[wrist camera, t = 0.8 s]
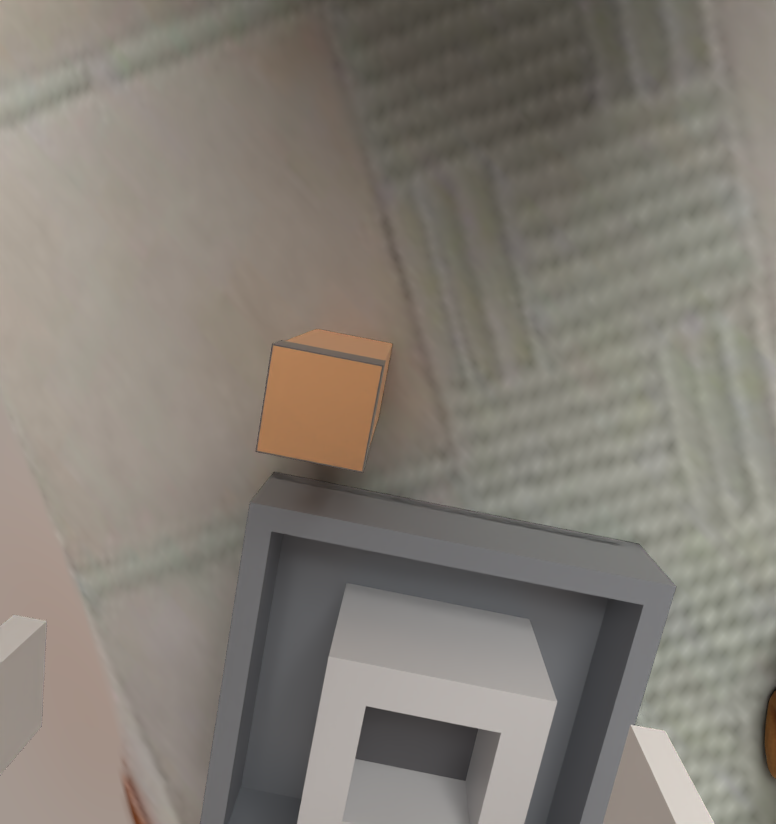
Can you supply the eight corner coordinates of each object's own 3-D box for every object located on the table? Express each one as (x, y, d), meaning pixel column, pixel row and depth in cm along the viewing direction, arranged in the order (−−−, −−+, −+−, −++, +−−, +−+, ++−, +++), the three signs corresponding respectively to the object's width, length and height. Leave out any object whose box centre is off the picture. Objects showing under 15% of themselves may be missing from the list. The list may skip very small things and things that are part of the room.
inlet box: (273, 471, 34) (231, 525, 27) (639, 543, 34) (705, 619, 26) (223, 787, 38) (172, 915, 30) (551, 853, 38) (585, 999, 30)
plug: (315, 327, 33) (272, 343, 23) (393, 342, 33) (383, 365, 23) (303, 404, 34) (255, 451, 24) (379, 419, 34) (363, 472, 24)
